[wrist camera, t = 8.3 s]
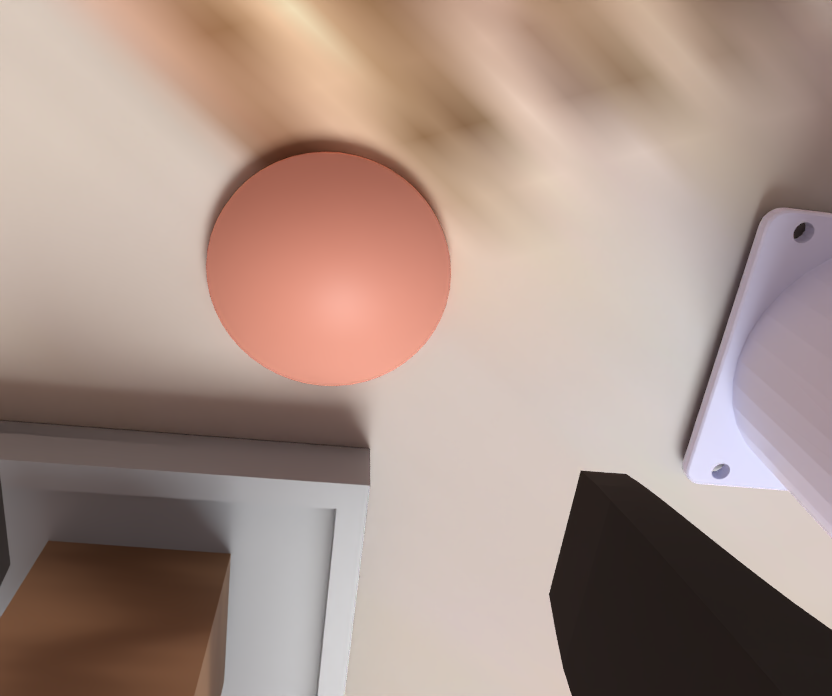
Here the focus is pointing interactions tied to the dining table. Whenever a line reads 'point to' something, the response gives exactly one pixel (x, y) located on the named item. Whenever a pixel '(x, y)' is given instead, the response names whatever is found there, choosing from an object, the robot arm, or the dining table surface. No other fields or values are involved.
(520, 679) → the dining table surface
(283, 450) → the slate tray
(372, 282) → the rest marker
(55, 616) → the walnut block
